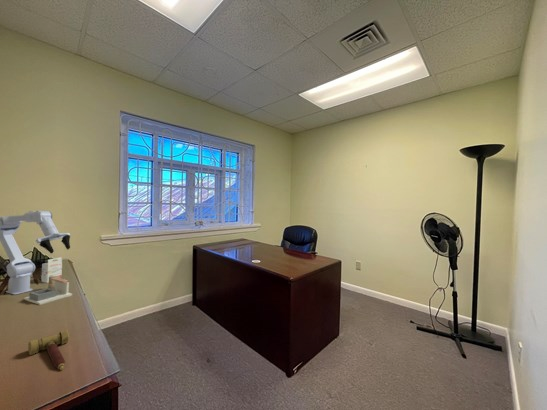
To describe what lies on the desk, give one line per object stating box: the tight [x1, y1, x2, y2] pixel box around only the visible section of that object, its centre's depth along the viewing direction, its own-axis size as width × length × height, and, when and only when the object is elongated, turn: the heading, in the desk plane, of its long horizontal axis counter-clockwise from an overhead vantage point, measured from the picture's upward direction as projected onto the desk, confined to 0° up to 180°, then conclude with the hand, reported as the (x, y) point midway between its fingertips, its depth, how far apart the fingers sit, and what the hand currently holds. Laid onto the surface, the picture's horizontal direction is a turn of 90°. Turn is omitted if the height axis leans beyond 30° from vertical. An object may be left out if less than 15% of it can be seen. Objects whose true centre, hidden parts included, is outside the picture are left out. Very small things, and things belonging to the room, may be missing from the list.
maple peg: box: [47, 276, 58, 290], centre depth 138 cm, size 4×4×7 cm
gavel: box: [27, 329, 70, 371], centre depth 79 cm, size 21×5×10 cm
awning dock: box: [23, 277, 73, 306], centre depth 126 cm, size 14×14×8 cm
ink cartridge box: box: [41, 256, 63, 284], centre depth 152 cm, size 9×5×15 cm, turn 168°
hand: (60, 250), depth 128 cm, fingers open, 7 cm apart
